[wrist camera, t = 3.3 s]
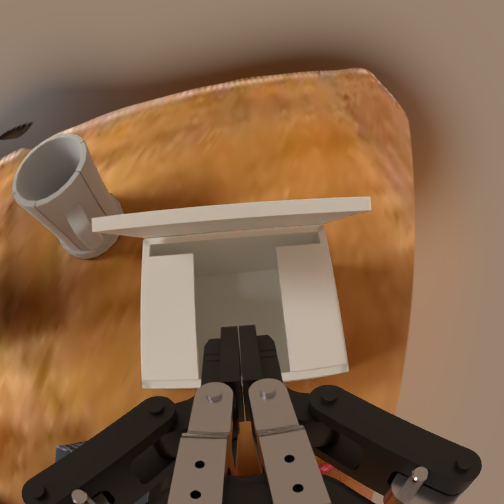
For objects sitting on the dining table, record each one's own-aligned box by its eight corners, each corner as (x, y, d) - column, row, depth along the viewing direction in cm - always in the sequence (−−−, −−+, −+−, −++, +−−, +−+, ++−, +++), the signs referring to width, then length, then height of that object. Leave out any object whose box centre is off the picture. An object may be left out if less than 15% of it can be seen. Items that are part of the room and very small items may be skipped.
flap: (321, 224, 25) (371, 210, 15) (145, 238, 25) (92, 231, 15) (320, 214, 25) (369, 194, 15) (144, 227, 25) (91, 216, 15)
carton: (323, 377, 29) (351, 371, 21) (169, 389, 29) (139, 388, 21) (307, 263, 34) (325, 221, 26) (166, 274, 34) (141, 236, 25)
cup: (148, 205, 37) (117, 136, 26) (119, 274, 34) (69, 220, 23) (81, 191, 38) (41, 131, 27) (51, 252, 35) (-3, 201, 24)
